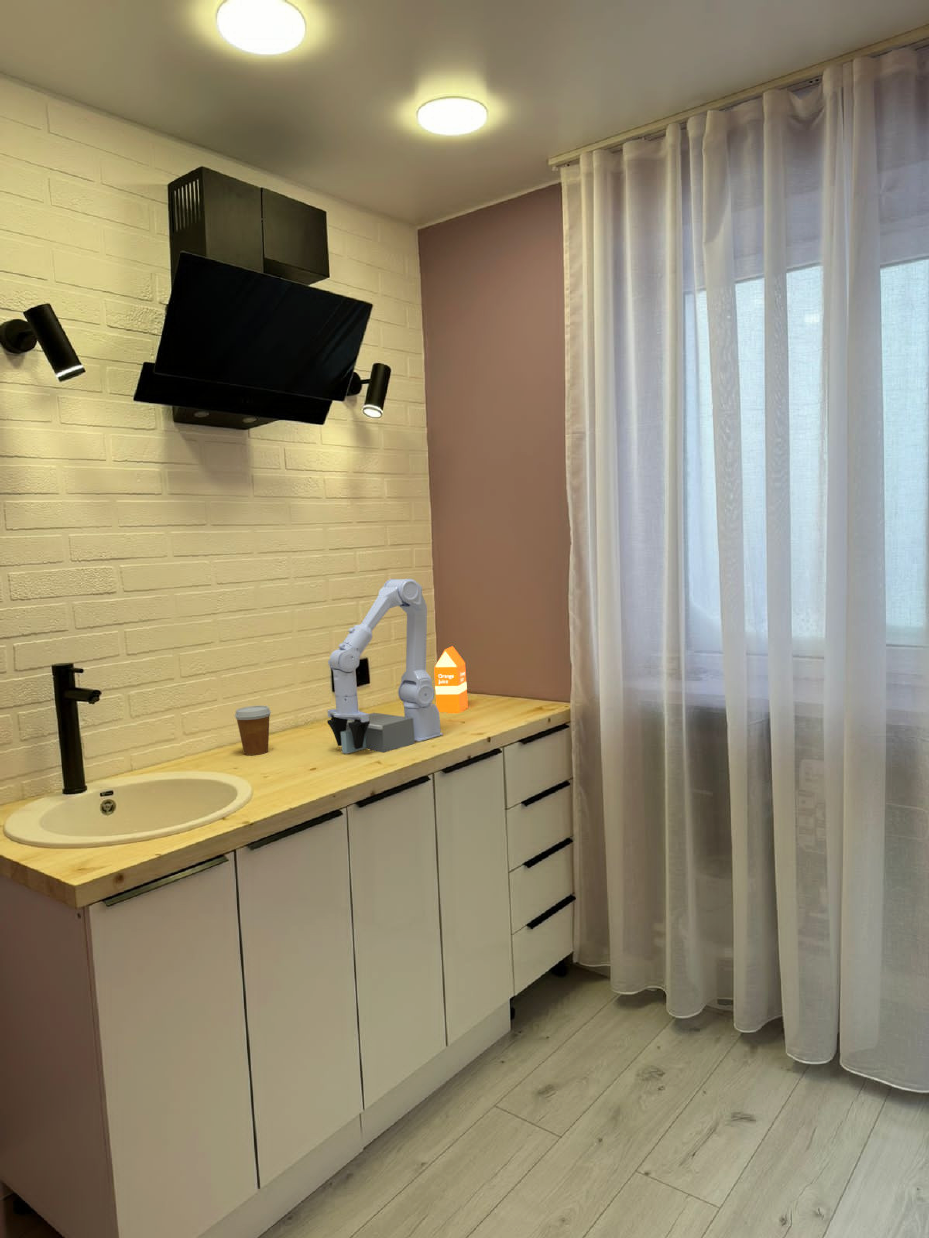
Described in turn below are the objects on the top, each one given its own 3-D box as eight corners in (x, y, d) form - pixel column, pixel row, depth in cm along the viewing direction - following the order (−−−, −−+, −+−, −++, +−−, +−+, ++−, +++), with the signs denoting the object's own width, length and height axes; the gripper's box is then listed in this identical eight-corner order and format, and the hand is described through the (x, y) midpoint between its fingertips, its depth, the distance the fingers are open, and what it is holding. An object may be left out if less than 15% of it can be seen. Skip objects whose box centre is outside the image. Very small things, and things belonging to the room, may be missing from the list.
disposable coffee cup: (238, 758, 229) (234, 713, 228) (237, 751, 238) (234, 707, 237) (275, 754, 231) (271, 709, 230) (273, 746, 241) (269, 704, 240)
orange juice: (436, 713, 274) (432, 650, 272) (445, 707, 282) (441, 646, 281) (460, 713, 272) (456, 649, 270) (468, 707, 280) (464, 645, 278)
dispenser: (375, 737, 244) (373, 712, 244) (415, 743, 233) (413, 717, 233) (342, 746, 236) (340, 720, 235) (382, 753, 225) (380, 726, 224)
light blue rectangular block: (382, 741, 237) (381, 721, 236) (387, 742, 236) (386, 722, 235) (342, 752, 227) (340, 731, 226) (347, 753, 225) (345, 732, 225)
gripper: (316, 695, 228) (320, 746, 230) (352, 699, 218) (356, 753, 220) (338, 691, 234) (341, 741, 235) (373, 695, 224) (377, 747, 225)
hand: (350, 746), depth 227 cm, fingers open, 6 cm apart
